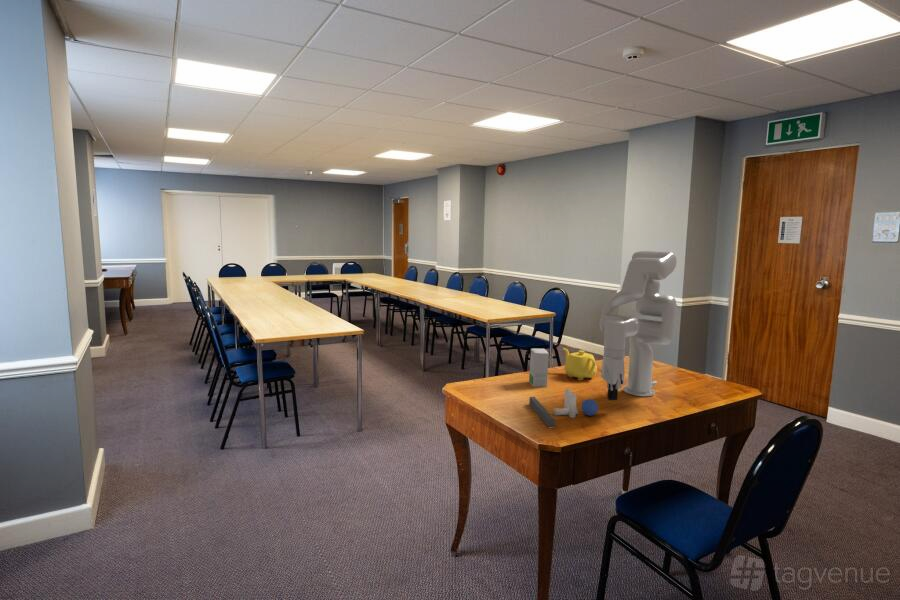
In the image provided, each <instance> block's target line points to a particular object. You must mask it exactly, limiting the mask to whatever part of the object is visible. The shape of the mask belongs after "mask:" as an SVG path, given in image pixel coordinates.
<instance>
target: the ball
mask: <svg viewBox="0 0 900 600" xmlns="http://www.w3.org/2000/svg"><path fill="white" fill-rule="evenodd" d="M580 407H581V411H582V413H583V414H585V415H587V416H588V417H589V416H591V417H592V416H594V415H596V414H597V412H598V411H599V405H598V403H597V402H596V401H595V400H594V399H592V398H587V399H585V400H583V401H582V403H581V405H580Z"/></svg>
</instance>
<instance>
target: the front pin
mask: <svg viewBox="0 0 900 600" xmlns="http://www.w3.org/2000/svg"><path fill="white" fill-rule="evenodd" d="M576 414H577V415H578V414H579V411H578V408H577V407H576ZM553 415H554V416H569V408H564V407H562V408H561V407H560V408H554V409H553Z"/></svg>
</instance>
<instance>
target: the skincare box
mask: <svg viewBox="0 0 900 600" xmlns="http://www.w3.org/2000/svg"><path fill="white" fill-rule="evenodd" d="M529 359H530V360H529V376H528V378H529V379H528V382H529V383H530V385H531V386H532V387H533V388H547V387H548V386H547V385H548V374H549V373H548V371H549V361H550V360H549V359H550V353H549V352H548V351H547V350H546V349H545V348H535V347H534V348H530V358H529Z"/></svg>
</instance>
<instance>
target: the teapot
mask: <svg viewBox="0 0 900 600" xmlns="http://www.w3.org/2000/svg"><path fill="white" fill-rule="evenodd" d="M562 350H564V352H565V353H564V354H565V364H564V372H565V374H566V375H568V376H569V377H568V376H567V377H568V378H577V381H580V380H583V381H584V379H585V378H586V379H589V378H592V379H593V376H595V375H596V374H597V371H598V367H597V362H596V359H595V356H594V355H593V354H592V353H588V352H585V350H583V349H582V350H578V352H576V351H575V352H572V353H570V352H569V349H568V348H565V347H563V348H562Z"/></svg>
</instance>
